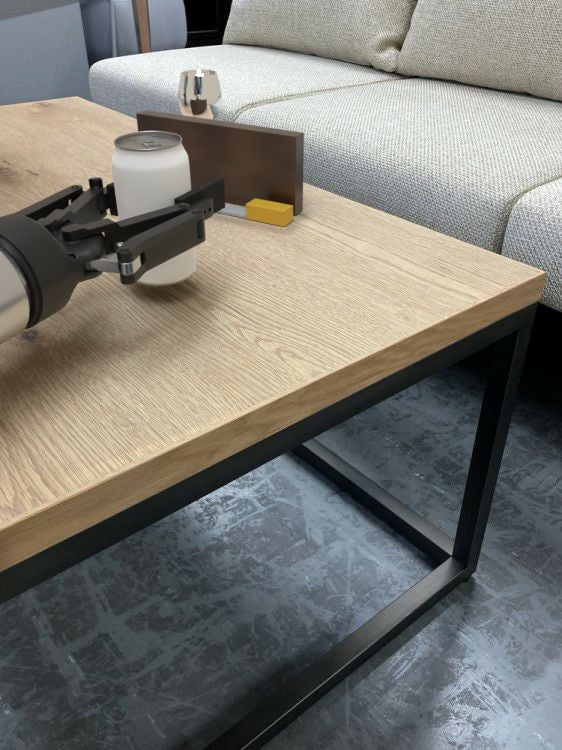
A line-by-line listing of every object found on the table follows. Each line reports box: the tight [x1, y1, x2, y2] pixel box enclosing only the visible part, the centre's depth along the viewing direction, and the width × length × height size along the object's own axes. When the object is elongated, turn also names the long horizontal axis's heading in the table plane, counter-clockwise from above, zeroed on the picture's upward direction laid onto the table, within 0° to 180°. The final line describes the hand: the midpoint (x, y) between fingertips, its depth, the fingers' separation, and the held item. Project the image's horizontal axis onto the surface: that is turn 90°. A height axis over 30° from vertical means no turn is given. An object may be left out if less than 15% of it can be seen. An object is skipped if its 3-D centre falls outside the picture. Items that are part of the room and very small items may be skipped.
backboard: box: [135, 109, 305, 216], centre depth 84 cm, size 22×2×9 cm, turn 61°
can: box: [111, 131, 198, 287], centre depth 61 cm, size 6×6×12 cm
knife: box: [216, 198, 294, 227], centre depth 81 cm, size 10×2×2 cm, turn 61°
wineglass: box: [177, 68, 223, 120], centre depth 94 cm, size 6×6×12 cm
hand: (187, 186), depth 65 cm, fingers closed on can, 6 cm apart
